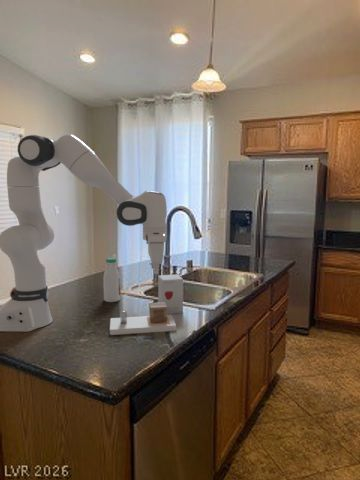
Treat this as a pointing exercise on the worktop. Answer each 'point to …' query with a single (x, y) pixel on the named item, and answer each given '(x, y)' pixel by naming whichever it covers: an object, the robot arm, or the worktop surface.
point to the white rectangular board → (139, 326)
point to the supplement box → (171, 292)
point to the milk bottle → (111, 281)
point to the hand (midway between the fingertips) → (154, 271)
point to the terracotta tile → (157, 323)
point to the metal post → (123, 317)
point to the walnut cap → (158, 312)
